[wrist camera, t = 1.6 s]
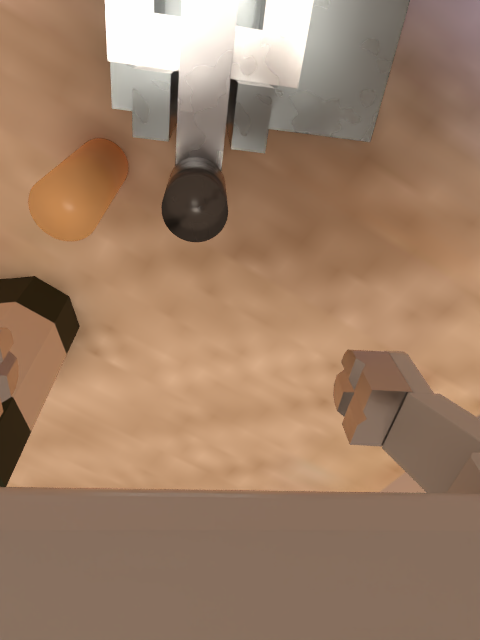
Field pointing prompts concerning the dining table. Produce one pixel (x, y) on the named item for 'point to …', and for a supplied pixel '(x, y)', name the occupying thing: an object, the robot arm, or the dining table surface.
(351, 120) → the mount
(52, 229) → the orange rounded cylinder
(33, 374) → the wine bottle
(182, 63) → the crank handle
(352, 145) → the dining table surface
